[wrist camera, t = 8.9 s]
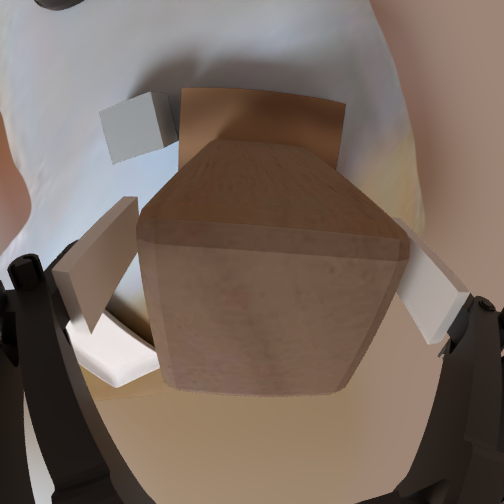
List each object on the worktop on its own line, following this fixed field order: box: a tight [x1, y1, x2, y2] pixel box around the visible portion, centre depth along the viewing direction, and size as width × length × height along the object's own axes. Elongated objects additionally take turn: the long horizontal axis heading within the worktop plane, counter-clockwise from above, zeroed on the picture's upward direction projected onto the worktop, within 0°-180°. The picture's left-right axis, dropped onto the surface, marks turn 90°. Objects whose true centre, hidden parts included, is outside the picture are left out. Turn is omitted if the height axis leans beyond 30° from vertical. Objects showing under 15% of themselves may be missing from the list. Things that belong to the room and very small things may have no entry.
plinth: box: [178, 87, 346, 171], centre depth 29 cm, size 16×16×5 cm
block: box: [136, 139, 410, 397], centre depth 19 cm, size 10×10×20 cm
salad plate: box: [66, 309, 160, 387], centre depth 45 cm, size 21×21×3 cm
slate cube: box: [99, 91, 178, 164], centre depth 26 cm, size 6×6×6 cm
